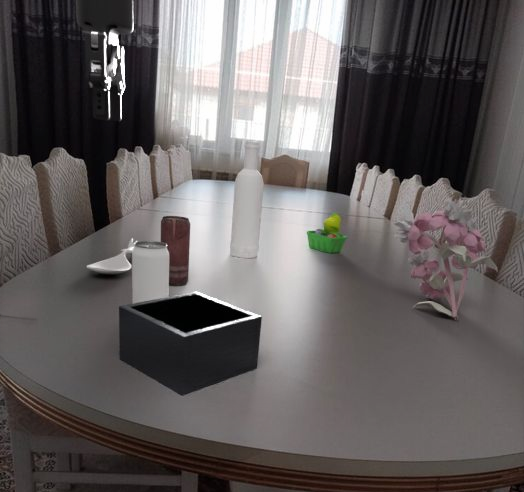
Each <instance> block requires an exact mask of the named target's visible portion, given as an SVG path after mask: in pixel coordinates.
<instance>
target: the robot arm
mask: <svg viewBox="0 0 524 492" xmlns="http://www.w3.org/2000/svg"><path fill="white" fill-rule="evenodd" d="M75 13H76V14H75V15H76V16H75V17H76V23H77V25H78V26H79V27H81V28H83V29H84V33H83V36H84V59H85V61H84V62H85V63H84V64H85V75H84V76H85V80H86V82H88V85H89V88H90V89H91V100H92V101H91V105H92V107H91V108H92V117H93V119H94V120H98V121H99V120H102V121H113V122H114V121H115V122H121V121H122V118H123V115H122V112H123V111H122V108H123V107H122V95H123V93H124V91H125V89H126V82H125V81H126V80H125V77H126V76H125V48H124V46H122V45H120V44H119V43H120V41H119V35H130V34H132V33H133V32H134V0H75Z"/></svg>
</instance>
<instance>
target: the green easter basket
mask: <svg viewBox="0 0 524 492" xmlns="http://www.w3.org/2000/svg"><path fill="white" fill-rule="evenodd" d="M340 216H341V215H340V214H339V213H336V212H333V213H332V214H331V215H330V216H329V217H328V218H326V219H325V220H324V221H323V229H322V228H317V229H316V230H306V231H305V233H306V235H307V241H308V248H309V249H314V250H317V251H320V252H324V253H328V254H335V253H341V251H342V250H343V247H344V245H345V242H346V240H347V239H348V236H347V235H343V234H340V233H339V232H340V230H341V223H342V219H341V217H340Z"/></svg>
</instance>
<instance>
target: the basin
mask: <svg viewBox="0 0 524 492" xmlns="http://www.w3.org/2000/svg"><path fill="white" fill-rule="evenodd" d="M262 320H263V316H261V315H259V314H256V313H253V312H251V311H249V310H246V309H243V308H241V307H238V306H235V305H233V304H230V303H228V302H226V301H222V300H220V299H217V298H215V297H212V296H209V295H207V294H205V293H201V292H199V291H193V292H186V293H182V294H176V295H171V296H168V297H165V298H160V299H155V300H149V301H144V302H139V303H134V304H132V303H128V304H122V305H118V332H119V333H118V335H119V336H118V337H119V360H120V361H122V362H124V363H125V364H127V365H129V366H131V367H132V368H134V369H136V370H137V371H139V372H141V373H143V374H145V375H146V376H148V377H150V378H151V379H153V380H155V381H156V382H158V383H160V384H161V385H163V386H165V387H167V388H168V389H170V390H172V391H174V392H175V393H177V394H179V395H181V396H185V395H187V394H190V393H193V392H195V391H198V390H200V389H203V388H206V387H209V386H212V385H214V384H217V383H221V382H224V381H226V380H229V379H231V378H234V377H237V376H239V375H242V374H245V373H248V372H250V371H253V370H255V369H258V362H259V351H260V341H261V329H262V322H263V321H262Z"/></svg>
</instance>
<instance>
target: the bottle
mask: <svg viewBox="0 0 524 492" xmlns="http://www.w3.org/2000/svg"><path fill="white" fill-rule="evenodd" d="M260 149H261V146H260V141H258V140H249V139H246V140H245V144H244V158H243V168H242V169H241V170H240V171H239V172H238V173H237V175H236V177H235V179H234V186H233V187H234V188H233V189H234V190H233V202H232V203H233V205H232V216H231V217H232V218H231V234H230V243H229V254H230V256H233V257H235V258H241V259H254V258H257V257H258V255H259V254H258V253H259V247H260V244H259V243H260V231H261V222H262V210H263V199H264V187H265V184H264V177H263V175H262V174H261V173H260V171H259V170H258V167H259V153H260Z"/></svg>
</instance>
